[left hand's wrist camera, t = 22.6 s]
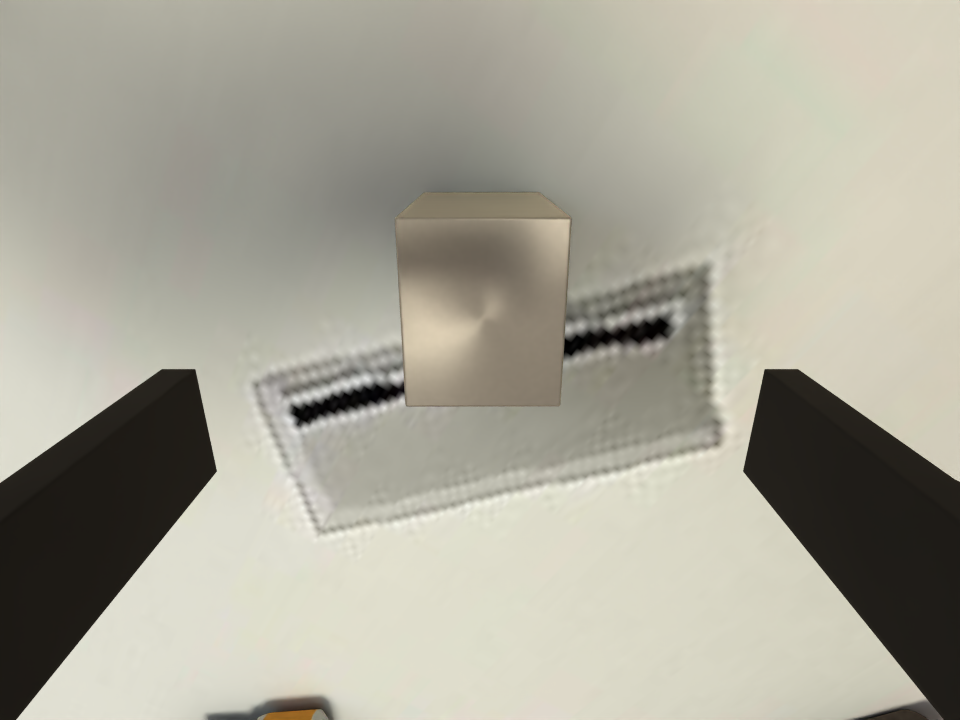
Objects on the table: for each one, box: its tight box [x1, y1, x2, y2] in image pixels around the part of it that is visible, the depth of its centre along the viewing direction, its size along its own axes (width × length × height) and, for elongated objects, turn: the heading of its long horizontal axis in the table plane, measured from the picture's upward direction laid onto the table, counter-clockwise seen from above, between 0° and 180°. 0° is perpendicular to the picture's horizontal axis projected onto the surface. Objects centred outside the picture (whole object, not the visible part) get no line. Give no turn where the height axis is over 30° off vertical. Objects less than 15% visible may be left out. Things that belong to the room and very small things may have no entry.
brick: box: [395, 192, 572, 406], centre depth 25 cm, size 6×7×10 cm
